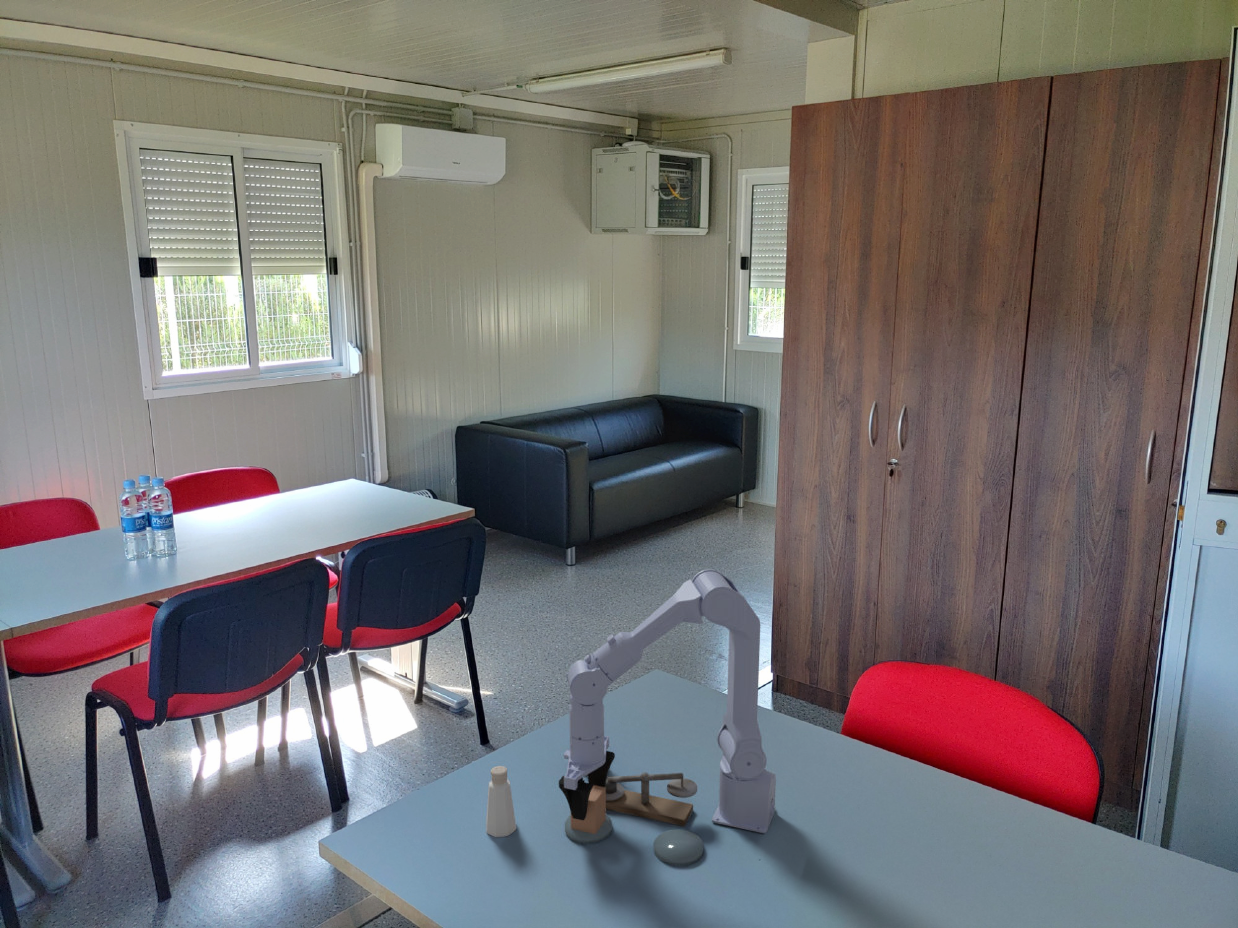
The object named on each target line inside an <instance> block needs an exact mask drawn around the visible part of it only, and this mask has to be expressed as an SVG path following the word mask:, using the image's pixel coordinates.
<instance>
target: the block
mask: <svg viewBox="0 0 1238 928" xmlns="http://www.w3.org/2000/svg"><path fill="white" fill-rule="evenodd" d="M606 813H607V809H606V788H605V787H600V786H596V785H594V786H593V788H592V790H591V792H590V795H589V799H588V807H587V814H586V818H585V819H584V820H579V819H574V818H573V817H572V814H571V813H570V815H571V829H576V830H580V831H584V832H588V833H593V834H596V833H597V831H598V830H599V829H600V827H601V826H602V824H603V823H604V821H605V820H606V815H607V814H606Z"/></svg>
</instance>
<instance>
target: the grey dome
mask: <svg viewBox="0 0 1238 928" xmlns="http://www.w3.org/2000/svg"><path fill="white" fill-rule="evenodd" d="M612 831H613V822H612V819H611V818H610V816H609V815H608V814H606V820H605V821H604V823H603V824H602V826H601V827H600V829H599V830H598V831H597V833H596V834H593V833H588V832H584V831H580V830H576V829H571V814H570V815H569V816H568V817H567V818H566V819H565V822H564V833H565V836H567V838H569V840H571V841H573V842H575V843H580V844H596V843H599V842H602V841H604V840H606V839H608V837H610V835H611V834H612Z"/></svg>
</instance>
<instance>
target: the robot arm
mask: <svg viewBox="0 0 1238 928" xmlns="http://www.w3.org/2000/svg"><path fill="white" fill-rule="evenodd" d="M702 617H704V618H705V619H706V620H707V621H709V622H711V623H712V624H715V625H718V626H721V627H724V628H726V629H727V630H728V661H727V696H726V697H727V698H726V699H727V700H726V701H727V703H726V713H725V714H724V715H723V716H722V724H721V727H720V729H719V731H718V733H717V736H716V739H717V740H716V742H717V745H718V747H719V749H720V750H721V751H722V758H721V759H720V763H719V789H718V790H719V791H718V792H719V794H718V795H719V797H718V806H717V808H716V809H715V812H714V814H713V816H712V817H711V822H712V823H714V824H719V825H724V826H727V827H728V826H729V827H732V828H733V827H734V828H737V829H742V830H747V831H752V832H756V833H760V834H767V832H768V829H769V827H770V825H771V821H772V819H773V818H774V814H775V811H776V786H777V785H776V784H777V783H776V781H777V779H776V774H775V773H773V772H771V771H770V770H769V771H768V770H767V769H766V767H767V756H766V753H765V752H764V749H763V746H762V744H763V743H762V741H763V739H762V735H761V731H760V726H759V722H758V705H759V704H758V703H759V702H758V700H759V699H758V698H759V675H760V649H761V647H760V646H761V620H760V618H759V617H758V615H757V614H756V612H755V611H754V610H753V608H752V607H751V605H750V603H748V601H747V600H746V598H745V596H744V595H743V594H742V593H741V592H740V590H739V589H738V587H737V586H736V585H735V584H734V582H733V581H732V580H731V579H730V578H728V577H727V576H725V575H724V574H723V573H722V572H720V571H718V570H716V569H714V568H713V569H712V568H708V569H703V570H702V569H701V570H700V571H699V572H697V573H696V574H695V575H694V576H693V578H692V579H691V578H690V579H688V580H687V581H685V582H683V584H681V586H680V587H679V588H678V589H677V590H676V592H675V593H674V594H673V595H672V596H671V597H670V598H669V599H667V600H666V601H665V602H664V603H663V604H662V605H660V606H659V607H658V608H657V609H656V610H654V612H652V613H651V614H650V615H649V616H648V617H647V618H646V619H645V620H644V621H642V622H641V623H640V624H639V625H638V626H637V627H635V628H634V629H633V630H632V631H619V632H618V633H616V634H615V635H614V634H613V633H611V634H610V635H609V636H608V637H606V643H604V644H602V645H601V646H600V647H599V648H598V649H596V650H595V651H594V652H593V653H591V654H587V655H585V656H584V658H583V659H578V660H576V661H574V662H572V665H571V666H570V667H569V669H568V672H567V673H566V675H565V677H566V680H567V684H568V686H569V691H570V692H569V694H570V695H569V703H570V704H569V708H568V710H569V711H568V712H569V713H568V714H569V716H568V717H569V749H567V750H566V751H565V752H564V754H563V759H566V760H568V762H567V768H566V773H565V774H564V775H562V776H561V777H560V779H559V780H558V788H559V789H560V790H561V792H562V793H563V795H564V797H565V799H566V800H567V801H566V802H567V804H568V807H569V810H570V815H571V814H572V817H573V818H574V819H579V820H584V819H585V818H586V814H587V807H588V799H589V795H590V792H591V790H592V788H593V786H594V785H596V786H600V787H605V784H606V779H607V777H608V775H609V771H610V767H611V765H612V764H613V762H614V759H615V758H616V753H615V752H614V751H609V750H608V749H609V748H610V737H609V736H606V735H605V706H604V704H603V700H604V698H605V696H606V695H607V691H608V688H609V687H610V686H611V685H612V684H613V683H614V682H616V681H617V680H618V679H619V678H621V677H622V676H623V675H625V673H627V672H628V671H629V670H631V669H632V668H633V667H634V666H636V665H637V664H639V662H641V661H642V658H643V654H644V650H645V649H646V648H648V647H649V646H650V645H651V644H653V643H655V642H656V641H657V640H658V639H660V638H662V637H664V636H665V635H666V634H668V633H669V632H670V631H672V630H673V629H674V628H676V627H678V626H679V625H680V624H682V623H692V624H699V625H702V624H704V621H703V619H702ZM586 776H587V782H586V781H585V779H584V777H586Z"/></svg>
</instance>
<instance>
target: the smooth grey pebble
mask: <svg viewBox="0 0 1238 928" xmlns="http://www.w3.org/2000/svg"><path fill="white" fill-rule="evenodd" d="M703 852H704V843H703V840H702V839H701V838H700V836H699V835H697V834H695V833H694V832H691V831H689V830H685V829H670V830H667V831H663V832H661V833H660V834H658V835H657V836H656V838H655V839H654V842H653V853H654V855H655V856H656V857H657V858H658V860H660V861H661V862H664V863H665V864H668V865H671V866H672V865H673V866H688V865H690V864H694V863H696V862H698V861H699V860H700V859H701V858H702V856H703V854H704V853H703Z"/></svg>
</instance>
